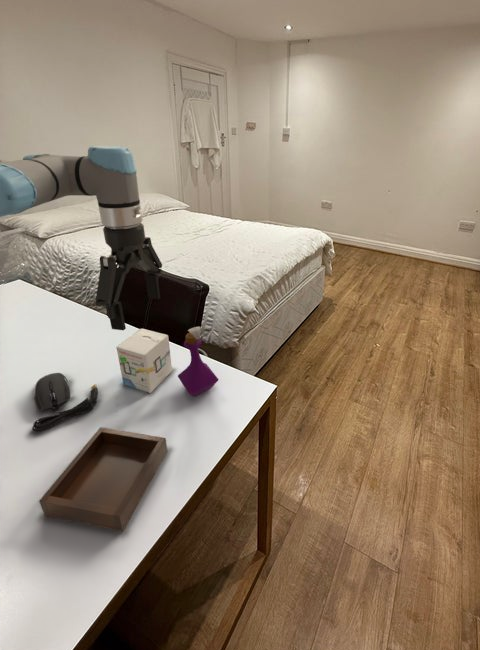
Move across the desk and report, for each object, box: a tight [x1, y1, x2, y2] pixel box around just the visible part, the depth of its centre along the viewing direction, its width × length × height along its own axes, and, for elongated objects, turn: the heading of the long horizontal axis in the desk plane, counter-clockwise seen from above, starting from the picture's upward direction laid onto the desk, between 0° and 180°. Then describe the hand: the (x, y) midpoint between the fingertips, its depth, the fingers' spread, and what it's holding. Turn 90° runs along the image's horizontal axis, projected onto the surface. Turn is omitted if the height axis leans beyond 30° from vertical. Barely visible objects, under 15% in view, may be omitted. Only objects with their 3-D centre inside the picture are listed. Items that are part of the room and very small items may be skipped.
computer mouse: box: [31, 372, 99, 432], centre depth 75 cm, size 12×18×4 cm
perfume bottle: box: [177, 326, 219, 397], centre depth 77 cm, size 8×8×18 cm
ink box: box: [116, 328, 173, 394], centre depth 81 cm, size 9×8×12 cm
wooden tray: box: [38, 426, 168, 532], centre depth 58 cm, size 14×14×4 cm
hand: (138, 312), depth 75 cm, fingers open, 13 cm apart
